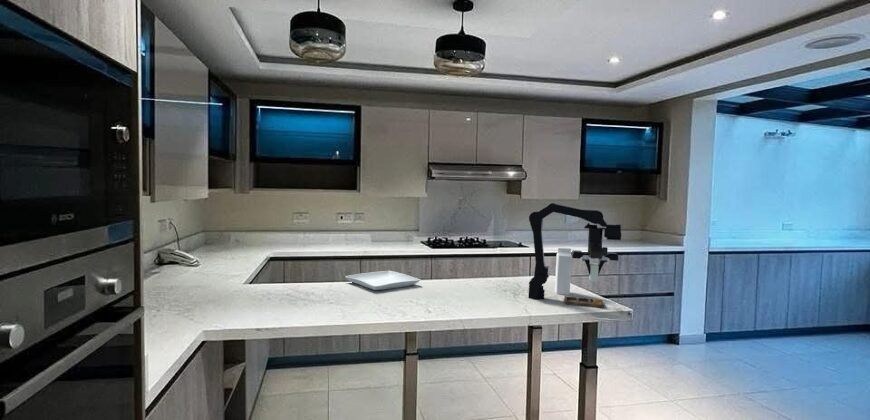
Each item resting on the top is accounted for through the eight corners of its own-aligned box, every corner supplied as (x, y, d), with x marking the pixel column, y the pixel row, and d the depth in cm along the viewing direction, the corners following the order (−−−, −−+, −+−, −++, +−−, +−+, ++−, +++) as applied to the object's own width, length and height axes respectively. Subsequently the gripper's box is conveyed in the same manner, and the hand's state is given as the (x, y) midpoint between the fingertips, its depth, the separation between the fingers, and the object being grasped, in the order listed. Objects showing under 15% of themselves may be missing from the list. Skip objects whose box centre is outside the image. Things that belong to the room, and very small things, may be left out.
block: (590, 281, 204) (591, 265, 204) (589, 278, 210) (589, 262, 209) (597, 281, 203) (598, 265, 203) (596, 279, 209) (597, 263, 209)
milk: (554, 292, 230) (556, 247, 228) (567, 293, 229) (569, 247, 228) (556, 295, 224) (558, 248, 222) (569, 296, 223) (572, 249, 222)
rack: (564, 306, 205) (565, 297, 204) (563, 300, 215) (564, 291, 215) (604, 310, 201) (605, 300, 201) (601, 303, 212) (602, 294, 211)
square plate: (389, 276, 254) (389, 269, 253) (421, 286, 233) (421, 279, 233) (344, 282, 236) (344, 274, 236) (374, 293, 215) (374, 285, 215)
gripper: (573, 240, 200) (572, 277, 201) (621, 242, 196) (619, 280, 197) (572, 237, 211) (570, 272, 211) (617, 239, 206) (615, 275, 207)
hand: (593, 275), depth 206 cm, fingers closed on block, 3 cm apart
